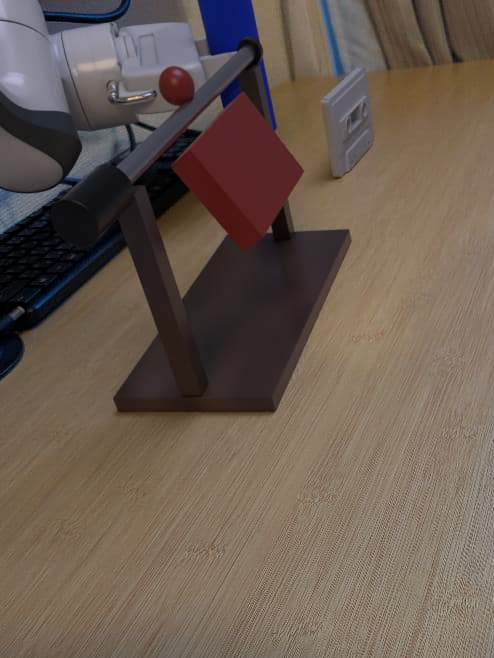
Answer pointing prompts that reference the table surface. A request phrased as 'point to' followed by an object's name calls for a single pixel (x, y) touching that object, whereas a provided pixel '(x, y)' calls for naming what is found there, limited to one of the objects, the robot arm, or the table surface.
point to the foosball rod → (196, 162)
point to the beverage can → (231, 37)
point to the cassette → (348, 121)
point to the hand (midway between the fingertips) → (244, 51)
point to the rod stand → (228, 308)
